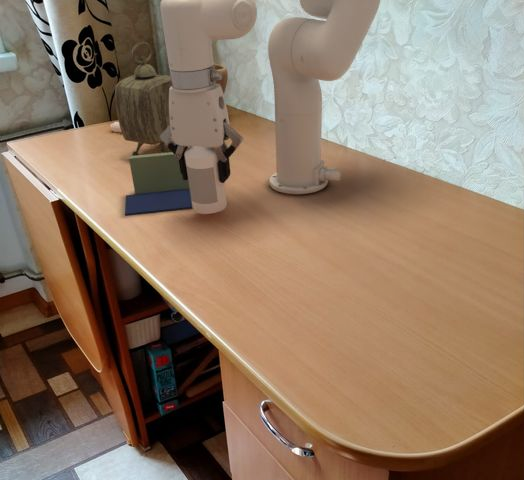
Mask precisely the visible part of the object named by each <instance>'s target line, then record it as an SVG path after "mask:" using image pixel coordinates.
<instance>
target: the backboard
mask: <svg viewBox="0 0 524 480" xmlns="http://www.w3.org/2000/svg"><path fill="white" fill-rule="evenodd" d="M128 161H129V167H130V174H131V178H132V184H133V190H134V194H143V193H153V192H162V191H172V190H181V189H190V187H189V181H188V179H187V180H183V177H182V174H181V172H180V166H179V160H178V159H176V157H175V154H174V153H173V152H172V151H167V153H161V152H160V153H159V152H158V153H148V154H147V153H146V154H139V155H136V156H132V155H129V156H128Z"/></svg>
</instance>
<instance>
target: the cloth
mask: <svg viewBox="0 0 524 480" xmlns="http://www.w3.org/2000/svg"><path fill="white" fill-rule="evenodd" d="M124 205H125V207H124V216H134V215H135V216H136V215H143V214H150V213H151V214H153V213H162V212H163V213H164V212H171V211H183V210H191V209H193V207H192V201H191V194H190V189H181V190H172V191H162V192H153V193H143V194H135V193H134V194H126V195H125V204H124Z"/></svg>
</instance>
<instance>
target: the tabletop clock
mask: <svg viewBox="0 0 524 480" xmlns="http://www.w3.org/2000/svg"><path fill="white" fill-rule="evenodd" d="M142 46H146V47H147V48H148V49H149V53H150V54H149V55H148V57H146V56H145V55H141V56H140V60H137V59H136V58H135V57H134V56H135V55H134V54H135V51H136V50H137V48H139V47H142ZM152 56H153V48H152V45H150V44H149V42H147V41H142V42H141V41H140V42H137V43H136V44H135V45H134V46H133V47H132V50H131V59H132V61H133V62H134V63H135V64H139V65H137V66H136V67H135V69H134V73H133V74H132V75H130V76H127V77H125V78H123V79H121V80H120V81H118V82H117V84H115V86H114V100H115V101H114V103H115V109H116V116H117V120H118V122H119V125H120V129H121V132H122V133H121V134H122V137H123V138H124V140H125V141H127V142H128V141H129V142H133V143H134V142H135V143H137V147H136V150H134V151H133V152H132V153H131V156H136V155H140V154H139V151H140V149H141V147H143V145H144V144H146V145H152V146H153V145H157V144H159V145H160V147H161V149H160V153H167V152H168V148H166V147H165V146H166V144H165V143H164V142H163V141H162V140H161V139H160V135H161V134H162V133H163V132H164V131H165V130H166V128H167V127H168V126H169V125H170V119H169V88H170V87H171V86H172V83H171V76H170V75H165V74H157V72H156V69H155V68H154V67H153V66H152V65H151V64H148V62H150V60H151V59H152ZM171 137H172V134H171ZM164 145H165V146H164Z"/></svg>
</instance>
